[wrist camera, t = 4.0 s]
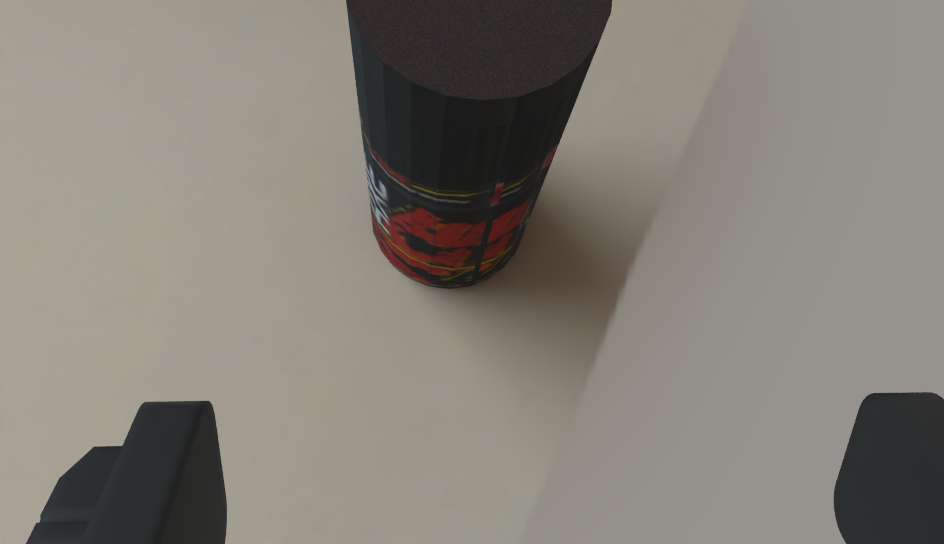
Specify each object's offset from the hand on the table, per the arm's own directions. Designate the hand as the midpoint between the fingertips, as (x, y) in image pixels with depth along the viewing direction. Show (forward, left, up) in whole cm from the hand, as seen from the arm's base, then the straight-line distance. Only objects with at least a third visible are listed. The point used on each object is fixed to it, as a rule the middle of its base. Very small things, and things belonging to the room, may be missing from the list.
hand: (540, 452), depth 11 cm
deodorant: (+3, -10, -21) cm, 23 cm away
